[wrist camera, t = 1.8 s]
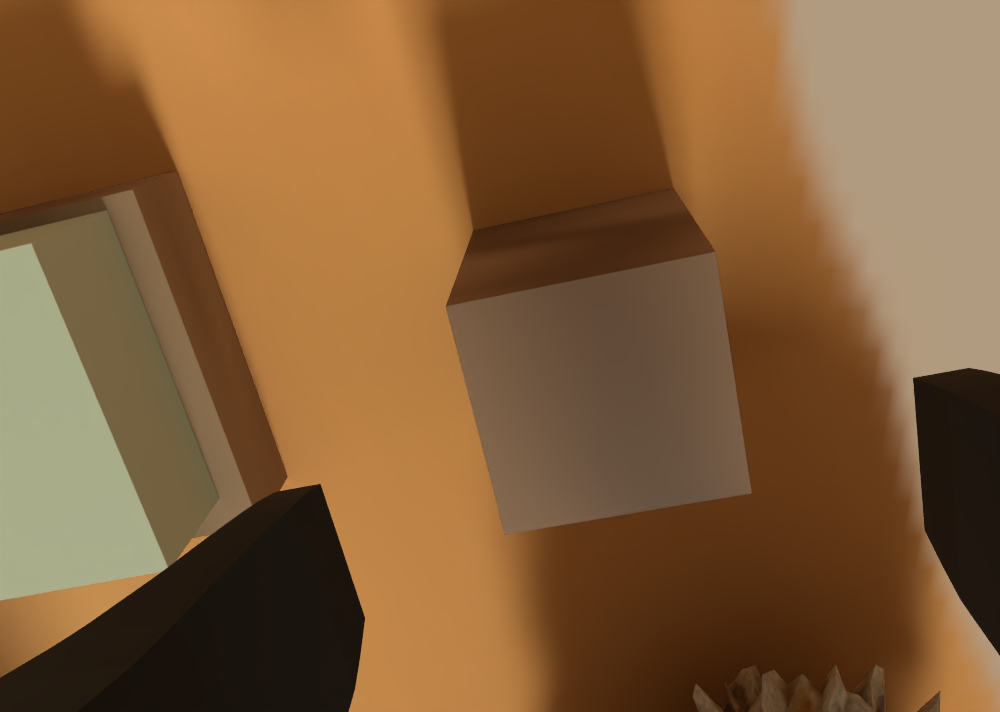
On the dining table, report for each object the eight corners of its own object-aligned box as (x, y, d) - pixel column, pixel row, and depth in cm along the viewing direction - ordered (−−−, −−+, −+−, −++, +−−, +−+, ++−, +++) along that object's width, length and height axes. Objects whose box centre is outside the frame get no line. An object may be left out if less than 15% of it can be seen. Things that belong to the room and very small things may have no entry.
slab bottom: (17, 521, 22) (-48, 582, 19) (-118, 241, 19) (-209, 273, 17) (292, 468, 21) (259, 525, 19) (185, 166, 19) (132, 189, 16)
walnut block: (516, 409, 20) (504, 534, 15) (473, 230, 18) (446, 306, 14) (703, 374, 19) (751, 493, 14) (672, 188, 18) (715, 251, 13)
